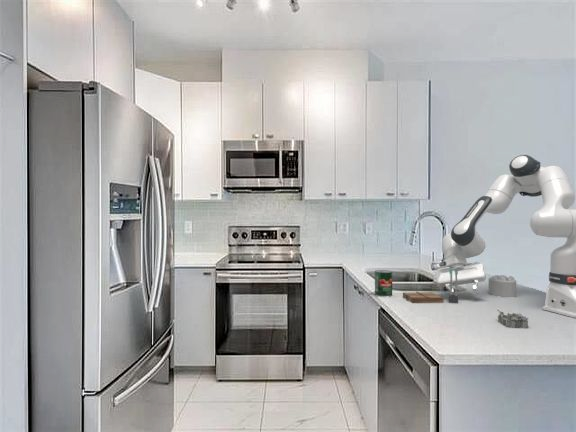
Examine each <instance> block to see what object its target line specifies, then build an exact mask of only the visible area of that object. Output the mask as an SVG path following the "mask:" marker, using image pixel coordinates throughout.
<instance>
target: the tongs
mask: <svg viewBox="0 0 576 432" xmlns="http://www.w3.org/2000/svg"><path fill="white" fill-rule="evenodd" d="M457 274H458V269H455V285H454V287H455V288H454V291H455V292H454V294H452V289H453V286H452V269H451V268H450V286H449V287H450V291H449V294H448V303H449V304H459V294H458V285H457Z"/></svg>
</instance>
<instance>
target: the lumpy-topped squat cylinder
mask: <svg viewBox="0 0 576 432" xmlns="http://www.w3.org/2000/svg"><path fill="white" fill-rule="evenodd" d="M488 294H489V295H491V296H493V295H494V296H493V297H498V296H500V297H499V298H505V297H514V298H517V280H516V279H515V277H514V276H513V275H510V276H507V275H504V274H503V275H502V274H501V275H498V274H497V275H493V276H491V277H488Z"/></svg>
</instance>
